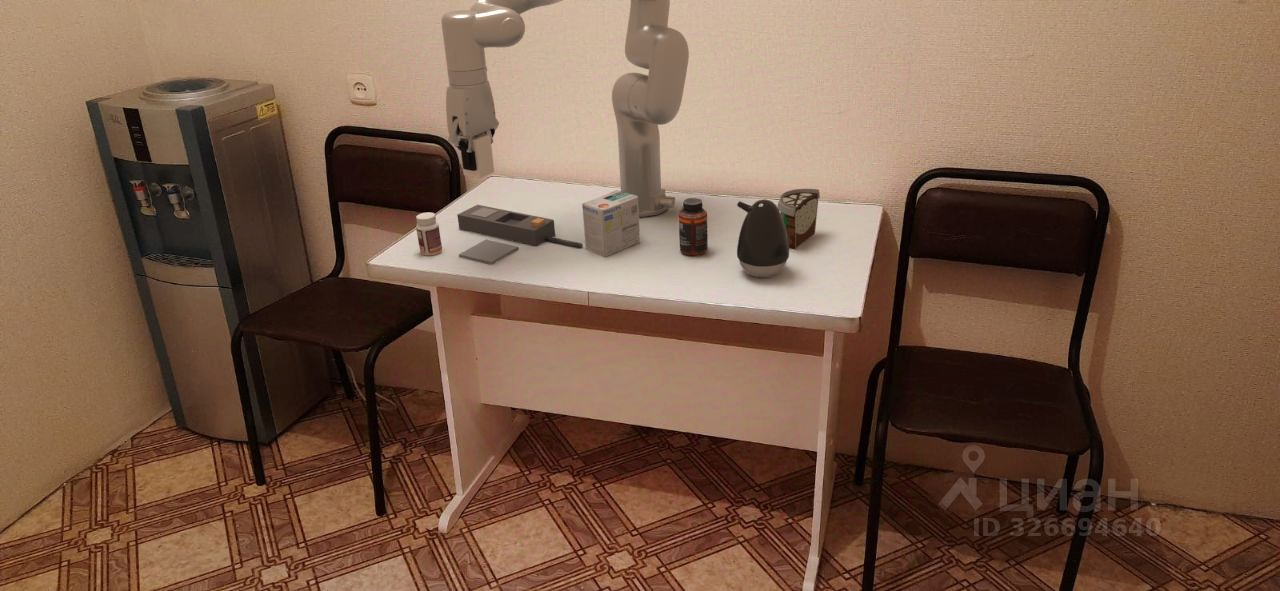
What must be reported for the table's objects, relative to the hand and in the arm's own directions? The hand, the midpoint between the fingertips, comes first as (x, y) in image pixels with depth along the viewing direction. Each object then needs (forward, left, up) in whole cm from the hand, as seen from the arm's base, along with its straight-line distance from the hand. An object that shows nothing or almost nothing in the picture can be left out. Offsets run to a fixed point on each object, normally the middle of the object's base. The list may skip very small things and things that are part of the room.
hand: (478, 165), depth 185 cm
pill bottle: (+12, +5, -20) cm, 24 cm away
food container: (-55, -35, -20) cm, 68 cm away
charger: (0, 0, -2) cm, 2 cm away
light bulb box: (-22, -15, -20) cm, 33 cm away
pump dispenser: (-56, -17, -20) cm, 62 cm away
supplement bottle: (-39, -20, -20) cm, 48 cm away
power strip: (-1, -11, -20) cm, 22 cm away
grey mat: (0, 0, -20) cm, 20 cm away
